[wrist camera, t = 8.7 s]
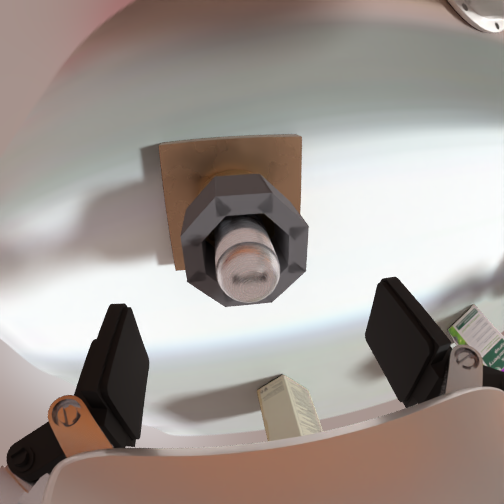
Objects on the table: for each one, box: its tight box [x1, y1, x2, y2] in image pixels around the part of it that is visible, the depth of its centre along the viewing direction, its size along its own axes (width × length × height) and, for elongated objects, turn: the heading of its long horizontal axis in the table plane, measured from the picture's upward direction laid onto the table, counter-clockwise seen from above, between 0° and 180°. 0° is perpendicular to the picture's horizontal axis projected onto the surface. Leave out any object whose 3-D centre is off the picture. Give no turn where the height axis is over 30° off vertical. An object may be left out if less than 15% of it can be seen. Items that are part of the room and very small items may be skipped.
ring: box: [180, 174, 309, 307], centre depth 17 cm, size 6×6×4 cm
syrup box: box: [448, 304, 504, 372], centre depth 30 cm, size 6×6×14 cm
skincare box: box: [257, 375, 323, 441], centre depth 30 cm, size 6×4×12 cm
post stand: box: [159, 134, 302, 303], centre depth 18 cm, size 10×10×12 cm
